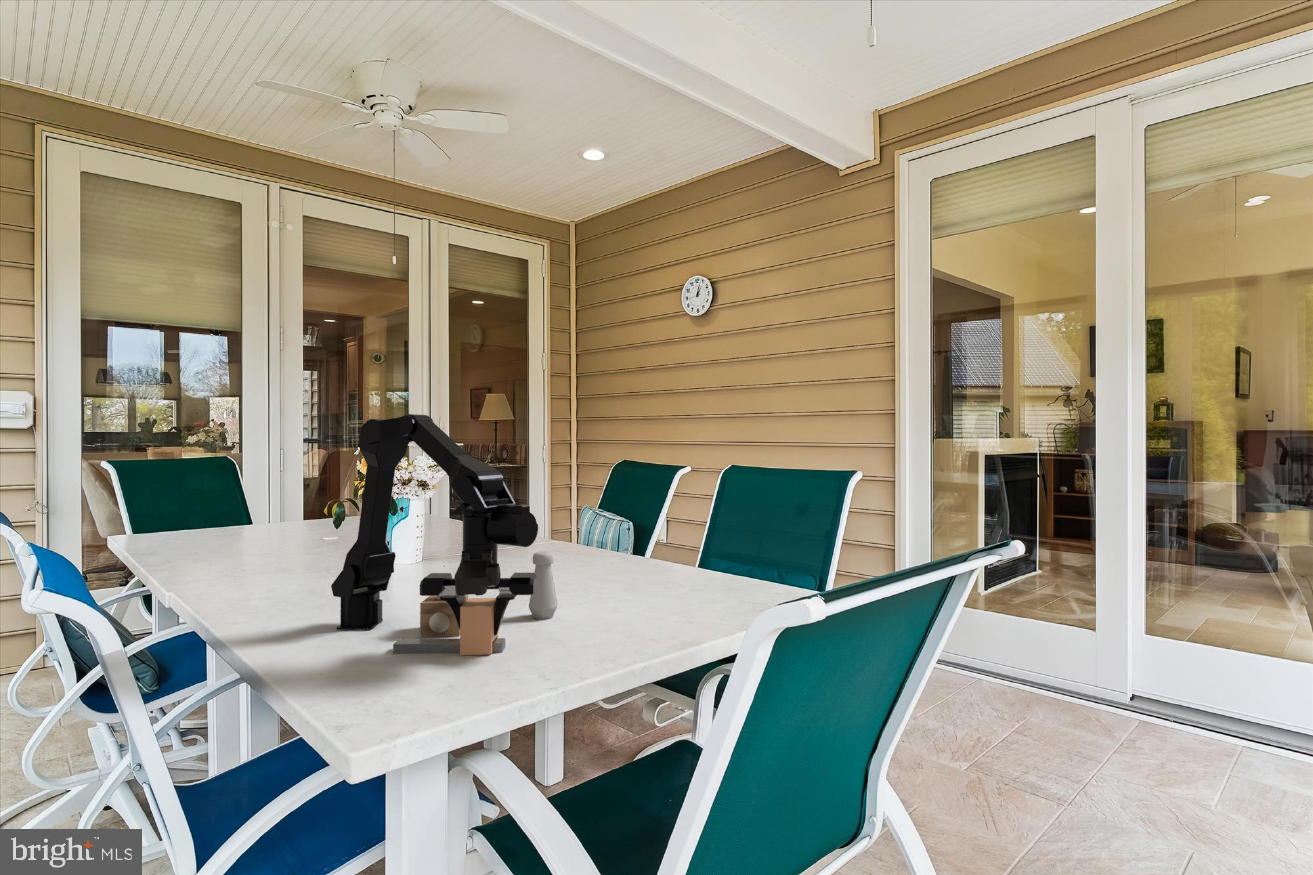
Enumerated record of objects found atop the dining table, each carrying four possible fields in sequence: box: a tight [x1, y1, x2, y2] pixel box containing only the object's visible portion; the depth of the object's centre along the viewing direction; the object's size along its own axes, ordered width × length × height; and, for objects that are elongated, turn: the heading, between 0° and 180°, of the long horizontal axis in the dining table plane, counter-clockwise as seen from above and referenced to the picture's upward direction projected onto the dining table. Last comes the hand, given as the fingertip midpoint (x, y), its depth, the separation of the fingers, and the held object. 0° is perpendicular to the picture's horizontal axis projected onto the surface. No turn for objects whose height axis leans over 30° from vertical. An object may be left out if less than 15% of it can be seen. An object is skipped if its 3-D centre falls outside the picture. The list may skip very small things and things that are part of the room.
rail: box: [392, 637, 506, 654], centre depth 117 cm, size 18×3×2 cm, turn 92°
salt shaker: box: [528, 550, 559, 620], centre depth 140 cm, size 6×6×13 cm
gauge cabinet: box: [419, 595, 469, 637], centre depth 129 cm, size 7×7×6 cm
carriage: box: [459, 597, 499, 656], centre depth 118 cm, size 5×7×8 cm
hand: (479, 634), depth 118 cm, fingers closed on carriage, 5 cm apart
